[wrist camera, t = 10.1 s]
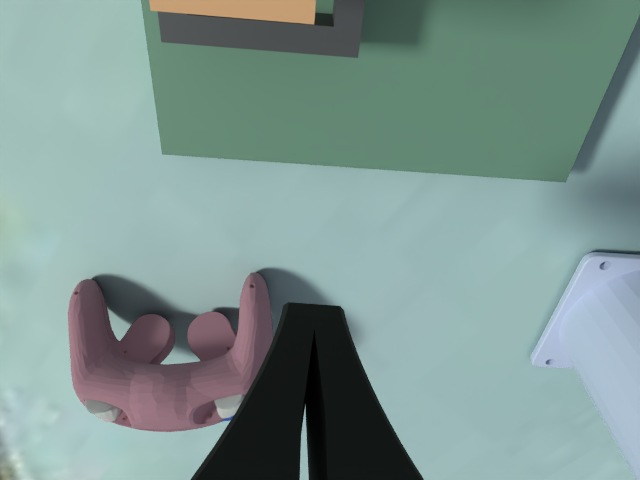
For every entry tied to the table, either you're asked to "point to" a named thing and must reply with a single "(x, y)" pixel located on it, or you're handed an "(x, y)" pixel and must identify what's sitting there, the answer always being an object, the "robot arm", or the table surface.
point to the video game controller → (166, 380)
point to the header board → (391, 84)
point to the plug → (243, 9)
